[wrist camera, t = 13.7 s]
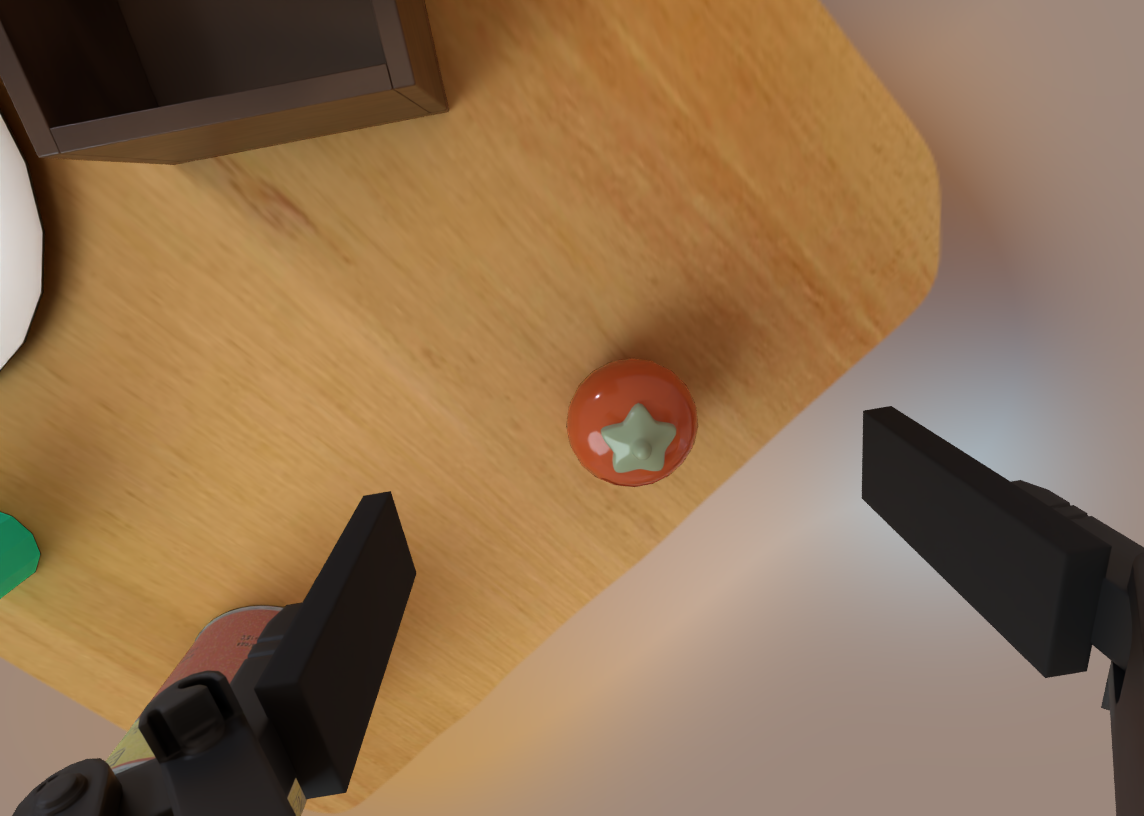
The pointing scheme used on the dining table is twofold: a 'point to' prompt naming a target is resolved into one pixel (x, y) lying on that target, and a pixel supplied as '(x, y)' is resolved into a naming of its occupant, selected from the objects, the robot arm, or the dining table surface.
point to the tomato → (632, 422)
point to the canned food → (213, 651)
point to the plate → (18, 247)
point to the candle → (15, 554)
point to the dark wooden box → (211, 73)
